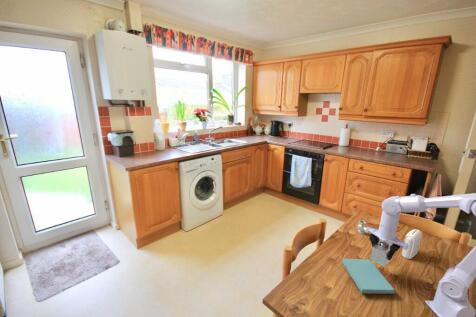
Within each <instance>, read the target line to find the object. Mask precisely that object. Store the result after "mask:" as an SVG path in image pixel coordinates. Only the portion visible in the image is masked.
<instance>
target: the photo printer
mask: <svg viewBox="0 0 476 317" xmlns="http://www.w3.org/2000/svg"><path fill="white" fill-rule="evenodd" d="M422 237H423V232H422V231H421V230H419V229H412V230H410V231H409V232H407V234H406V235H405V238H404V240H403V242H405V243H407V244H409V245H408V249H407V250H404V249H403V248H402V251H401V256H402V257H403V258H405V259H407V260H411V259H413V257H415V256H416V255H417V254H418V252H419V250H420V245H421V242H422V240H423V238H422Z"/></svg>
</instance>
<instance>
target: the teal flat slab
mask: <svg viewBox="0 0 476 317" xmlns="http://www.w3.org/2000/svg"><path fill="white" fill-rule="evenodd" d="M341 263H342V264H343V266H344V268H345V269H346V270H347V272H348V274H349V276H350V277H351V278H352V280H353V281H354V283H355V285H356V286H357V288H358V290H359V291H360V293H361V294H363V295H365V294H369V295H371V294H372V295H389V294H395V289H394V287H393V286H392V285H391V283H389V281H388V280H387V279H386V277H385V276H384V275H383V274H382V272H380V270H379V269H378V268H377V266H376V265H375V264H374V262H372V260H371V259H367V258H342V260H341Z"/></svg>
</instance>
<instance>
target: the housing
mask: <svg viewBox="0 0 476 317" xmlns="http://www.w3.org/2000/svg"><path fill="white" fill-rule="evenodd" d="M392 244H393V243H390V242H387V241H385V242H384V241H381V240H379V242H378V243H376V244H375V245H374V246H373V247H372V246H371V247H372V249H371V253H370V257H369V258H370V260H371V262H372V261H373V263H376V264H378V265H380V266H382V267H385V266H386V265H387V263H389V262H390V261H391V260H388V257H389V253H390V246H391V245H392ZM393 257H394V256H393ZM393 257H392V259H393Z"/></svg>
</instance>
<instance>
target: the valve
mask: <svg viewBox="0 0 476 317" xmlns="http://www.w3.org/2000/svg"><path fill="white" fill-rule="evenodd" d="M367 227H368V226H367V221H366V220H363V219H360V220H359V221H358V224H357V232H356V233H358V234H360V235H365V233H366V228H367ZM379 241H380V238H379Z"/></svg>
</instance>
